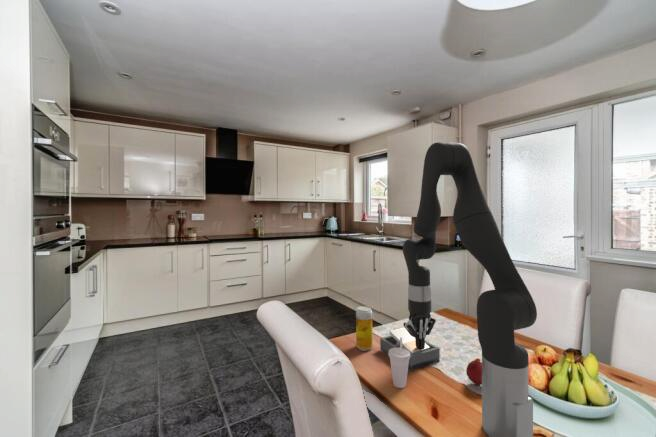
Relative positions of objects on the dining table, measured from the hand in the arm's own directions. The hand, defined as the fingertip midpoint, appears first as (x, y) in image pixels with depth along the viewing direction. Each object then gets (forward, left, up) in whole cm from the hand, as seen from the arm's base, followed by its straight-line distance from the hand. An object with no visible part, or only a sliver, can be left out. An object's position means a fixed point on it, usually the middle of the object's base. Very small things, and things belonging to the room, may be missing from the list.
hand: (420, 348), depth 99 cm
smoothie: (-6, +14, -5) cm, 17 cm away
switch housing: (+6, 0, -5) cm, 8 cm away
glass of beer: (+18, +11, -5) cm, 22 cm away
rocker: (+6, 0, 0) cm, 6 cm away
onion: (-17, -6, -5) cm, 19 cm away
